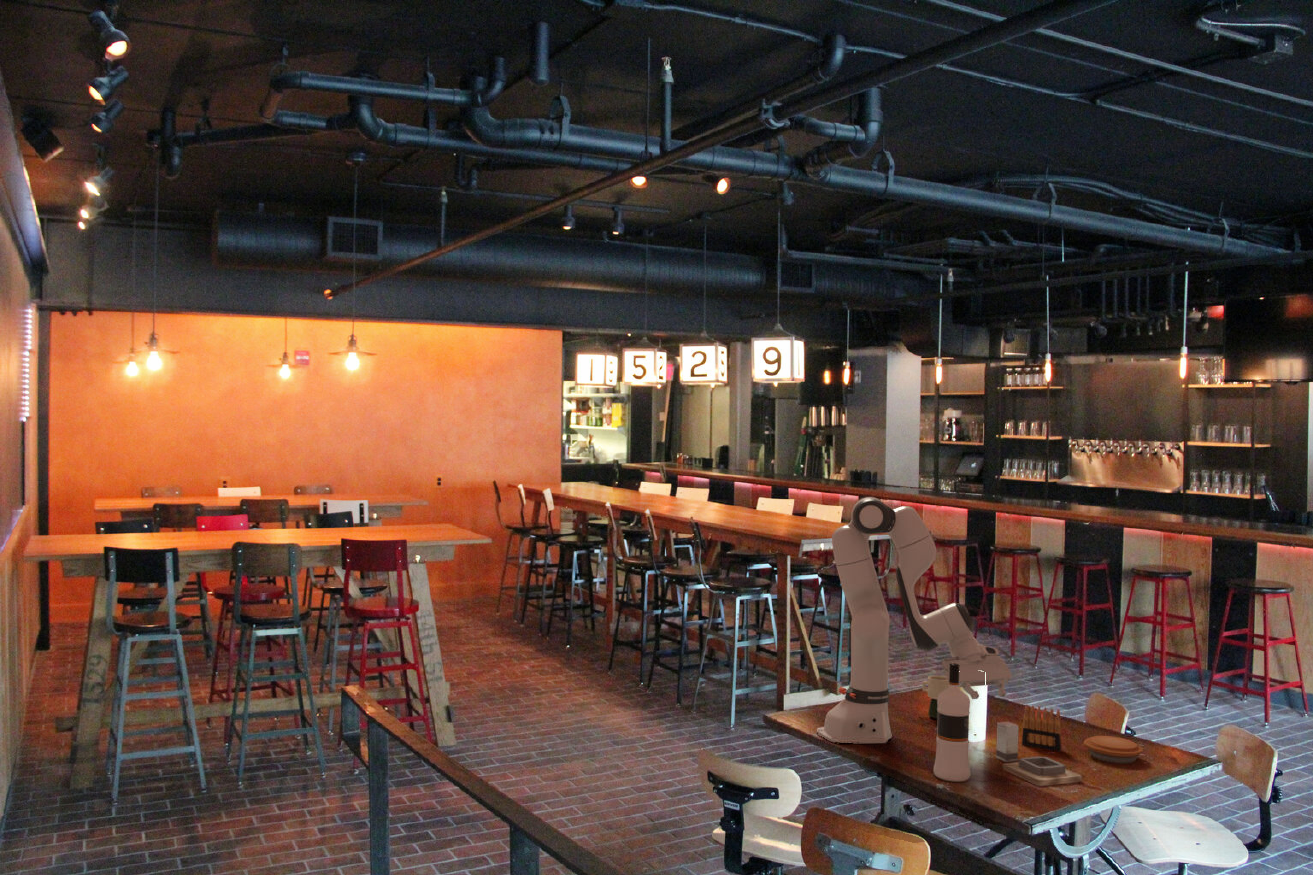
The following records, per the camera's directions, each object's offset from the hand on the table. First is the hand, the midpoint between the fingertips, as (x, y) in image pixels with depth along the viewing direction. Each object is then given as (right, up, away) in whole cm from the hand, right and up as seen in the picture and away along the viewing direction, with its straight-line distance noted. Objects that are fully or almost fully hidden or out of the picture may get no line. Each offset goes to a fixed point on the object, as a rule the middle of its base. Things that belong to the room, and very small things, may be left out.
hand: (989, 696), depth 289 cm
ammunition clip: (+17, -16, +4) cm, 24 cm away
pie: (+34, -17, -3) cm, 38 cm away
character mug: (-5, -16, +34) cm, 38 cm away
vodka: (-19, -15, -25) cm, 35 cm away
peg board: (+7, -15, -21) cm, 27 cm away
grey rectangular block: (+2, -15, -8) cm, 18 cm away
